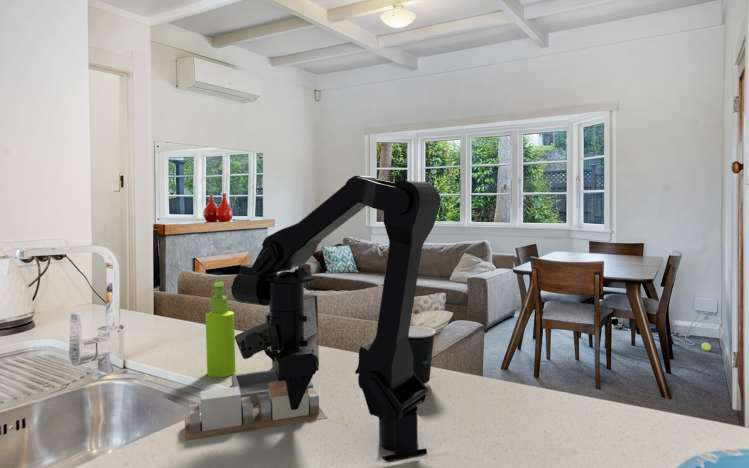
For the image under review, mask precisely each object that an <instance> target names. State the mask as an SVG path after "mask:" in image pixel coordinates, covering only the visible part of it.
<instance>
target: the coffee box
mask: <svg viewBox="0 0 749 468" xmlns="http://www.w3.org/2000/svg"><path fill="white" fill-rule="evenodd" d="M304 314H306V315H307V322H304V331H305V338H306V339H307V345H308V346H304V347H300V349H301V348H308V349H310V350H311V351H312V352H313V353H314V354H315V355H316V356H317V357H318V367H319V366H320V357H319V356H320V354H319V353H320V352H319V349H320V348H319V313H318V295H315V294H314V295H313V294H305V293H304ZM271 363H272V365H271V366H272V368H274V369H275V365H274V362H273V360H272V359H271Z"/></svg>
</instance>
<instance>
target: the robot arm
mask: <svg viewBox="0 0 749 468" xmlns="http://www.w3.org/2000/svg"><path fill="white" fill-rule="evenodd" d="M366 207H368V208H372V209H375V210H379V211H381V212H383V213H382V214H383V216H382V217H383V224H384V228H385V232H386V235H387V237H388V238H387V239H388V250H387V258H386V265H385V272H384V279H383V283H382V284H383V285H382V292H381V299H380V306H379V312H378V320H377V326H376V334H375V336H374V340H373V341H372V342H371V341H370V342H369V343H367V344H364V345H362V346H360V348H359V350H358V364H357V367H356V369H355V371H354V373H355V374H356V375H357V374H358V377H357V378H358V379H357V380H358V381H357V382H358V383H357V384H358V387H359V389H361V390H362V392H363V396H364V400H365V403H366V405H367V409H368V413H369V415H370V416H375V417H377V418H378V444H379V446H380V447H381V448H382V449H384V450H386V451H388V452H393V454H388V455H384V456H382V458H383V460H384V461H385V462H393V461H398V460H404V459H407V458H408V459H409V458H413V457H417V456H423V455H427V453H428V451H427V450H428V449H427V448H426V447H425V448H420V449H418V445H419V444H418V442H419V441H418V437H419V436H418V433H419V432H418V427H419V425H418V423H419V420H418V414H419V413H418V410H419V408H418V406H419V405H421V404H422V403H424V402H425V401H426V398H427V396H428V393H429V388H428V386H427V387H426V386H425V385H424V384H423V382H422V381H421V380H420V379H419V377H418V376H417V375H416V374H415V372H414V371H413V353H412V350H411V347H410V344H409V340H408V336H409V329H410V326H411V321H412V316H413V315H412V314H413V308H414V302H415V295H416V290H417V283H418V277H419V270H420V269H419V268H420V264H421V263H420V262H421V257H422V252H423V251H422V249H423V245H424V244H425V242H426V241H427V238H428V237H429V235H430V233H431V232H432V229H433V228H434V226H435V223H436V220H437V218H438V214H439V211H440V209H441V195H440V193H439V192H438V190H437V189H436V187H435V186H433V184H431V183H429V182H426V181H416V180H415V181H414V180H399V181H396V182H392V181H388V180H387V181H386V180H383V179H377V178H376V177H373V176H368V175H354V176H352V177H350V178H348V179H347V181H346V182H345V184H343V186H342V187H340V188H339V189H338V190H336V191H335V192H333V194H332V195H330V196H329V197H328V198H327V199H326V200H324V201H323V202H322V203H321V204H320V205H318V206H317V207H315V208H314V210H312V211H311V212H310V213H308V214H307V215H306V216H305V217H304V218H303V219H301V220H300V221H299V222H297V223H295V224H293V225H289V226H286V227H283V228H281V229H279V230H276V231H275V232H274V233H272V234H269V235H268V236H267V237H265V238H264V239H263V241H262V244H261V246H262V248H261V250H259V253H258V254H257V257H256V259H255V261H254V262H253V264H244V265H242V264H241V265H240V266H239V272H238V273H237V274H236V275H235V277H234V279H233V281H232V285H230V286H231V287H230V290H231V295H232V297H233V299H234V301H236V302H238V303H241V304H249V305H255V306H263V307H264V306H265V307H266V306H269V312H267V314H266V315H265V322H263V323H261V324H258V325H256V326H254V327H251V328H249V329H246V330H244V331H242V332H240V333H237V335H235V337H234V338H235V342H236V343H235V344H236V346H237V348H238V349H239V352H240V355H241V357H242V359H243V360H248V359H250V358H253V356H254V355H255V354H258V353H260V352H262V351H263V352H264V354H265V355H266V356H267V357H268V358H270V359H271V361H272V360H273V362H274V365H275V368H274V370H275V371H276V373H277V377H278V381H285V383H286V388H287V393H288V398H289V403H290V408H291V410H297V409H298V407H299V405H300V403H301V401H302V398H303V396H304V394H305V391H306V389H307V387H308V385H309V383H310V381H312V379H313V376H314V375H315V374H316V373H317V372H319V369H320V368H319V366H318V357H317V356H316V355H315V354H314V353H313V352H312V351H311V350H310V349H308V348H301V349H300V347H304V346H308V345H307V339H306V338H305V331H304V322H307V315H306V314H304V294H305V292H304V291H305V289H304V286H305V284H308V283H312V282H314V281H315V278H314V277H313V276H312V274H310V273H309V271H307V270H306V268H305V267H301V266H303V265H305V264H306V263H307V262H308V261H309V260H310V258H312V257H313V255H314V254H315V253H316V252H317V249H318V246H319V244H320V243H321V242H322V241H323V240H324V239H325V238H327V236H329V235H331V234H332V233H333V232H335V231H336V230H337V229H338V228H339V227H341V226H342V225H343V224H345V223H346V222H348V221H349V220H350V219H351V218H353V217H354V216H356V215H357V214H358V213H359V212H361V211H362V210H363V209H364V208H366ZM295 267H297V268H296V269H294V271H291V270H292V269H293V268H295ZM298 267H300V268H298Z"/></svg>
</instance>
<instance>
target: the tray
mask: <svg viewBox="0 0 749 468" xmlns="http://www.w3.org/2000/svg"><path fill="white" fill-rule="evenodd" d="M275 370H276V369H272V370H263V371H256V372H254V371H253V372H247V373H239V374H233V375H231V387H239V390H240V393H241V398H243V397H250V399H251V402H252V405H253V406H254V405H258V395H265V394H267V396H268V398H269V387H268V383H269V382H277V381H278V377H277V373H276V371H275ZM311 381H312V380H311ZM311 381H310V383H309V385H308V389H310V388H314V384H313V383H312V382H311Z"/></svg>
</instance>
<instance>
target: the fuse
mask: <svg viewBox="0 0 749 468" xmlns="http://www.w3.org/2000/svg"><path fill="white" fill-rule="evenodd" d="M200 416H201V421H202V431H206V430H212V429H219V428H225V427H232V426H238V425H242V419H241V393H240V390H239V387H232V386H231V387H225V388H224V387H223V388H216V389H215V388H213V389H206V390H201V391H200Z"/></svg>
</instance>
